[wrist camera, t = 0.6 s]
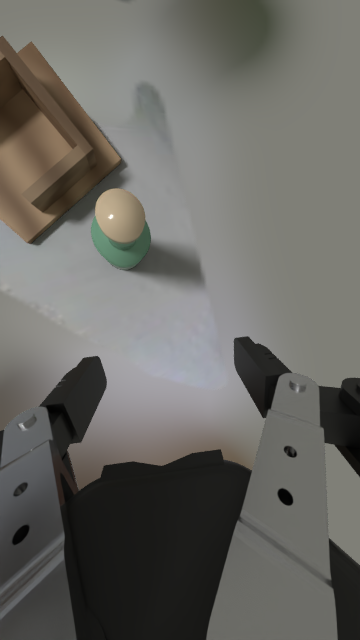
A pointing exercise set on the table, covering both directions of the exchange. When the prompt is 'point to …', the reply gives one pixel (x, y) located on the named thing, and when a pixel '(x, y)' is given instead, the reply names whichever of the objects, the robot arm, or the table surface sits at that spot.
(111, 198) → the bottle
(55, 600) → the robot arm
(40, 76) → the bottle rest
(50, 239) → the table surface
